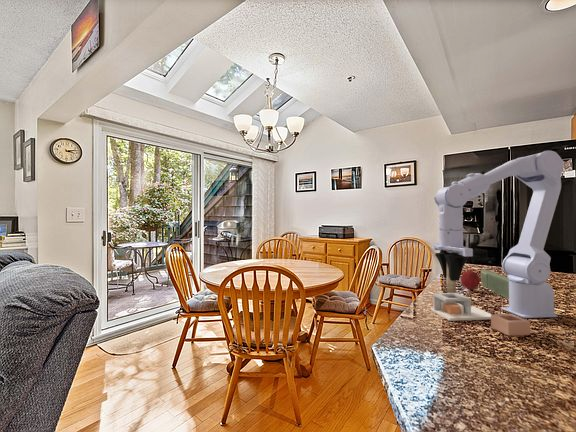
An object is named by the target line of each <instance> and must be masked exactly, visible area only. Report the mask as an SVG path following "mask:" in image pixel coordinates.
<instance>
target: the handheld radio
mask: <svg viewBox="0 0 576 432" xmlns="http://www.w3.org/2000/svg"><path fill="white" fill-rule="evenodd" d="M480 282H481V286H484V287H486V288H488V289H490V290H491V292H492V291H493V293H494V292H495V293H494V294H496V293H497V294H496V295H498V294H499V295H498V296H500V295H501V296H500V297H502V296H503V297H502V298H504V297H505V298H504V299H506V298H507V299H506V300H508V299H509V278H507V276H505V275H502V274H500V273H497V272H494V271H492V270H489V269H481V270H480ZM484 287H483V288H484ZM486 288H485V289H486ZM488 289H487V290H488ZM490 290H489V291H490Z"/></svg>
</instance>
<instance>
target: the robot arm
mask: <svg viewBox="0 0 576 432" xmlns="http://www.w3.org/2000/svg"><path fill="white" fill-rule="evenodd" d="M564 166H565V162H564V161H563V159H562V157H561V156H560V155H559V154H558V152H556V151H553V150H544V151H542V152H539V153H535V154H531V155H527V156H521V157H517V158H515V159H512V160H509V161H507V162H505V163H503V164H502V165H499V166H497V167H495V168H492V169H491V170H489V171H487V172H485V173H484V174H483V173H480V172H479V173H478V172H477V173H476V172H475V173H474V172H470V173H468V174H466V177H465V178H463V179H460V180H458V181H457V180H456V181H453V182H451V183H450V184H451V185H450V186H445V187H441V188H440V189H438V191H436V194H435V196H434V197H433V199H434V203H435V204H436V206H437V207H438V225H439V226H438V229H439V230H438V231H439V234H438V235H439V242H438V243H432V250H433V251H439V252H435V253H434V255H435V257H436V259H437V260H438V262H439V264H440V268H441V271H442V275H443V278H444V279H446V280H447V267H446V261H447V264H448V269H449V277H450V280H451V281H456V282H459V281H460V280H461V276H462V275H461V274H462V272H463V268H464V266H465V263H466V262H467V261H468V260H469V257H474V249H473V248H470V247H466V246H464V225H463V224H464V221H463V220H464V218H463V217H464V216H463V213H464V211H463V209H464V208H463V207H464V205H466V203H467V202H468V201H469V200H471V199H475V197H478V196H480V195H482V194H484V193H486V192H488V190H489V188H490V186H491V185H492V184H495V183H497V182H500V181H502V180H504V179H507V178H508V177H514V176H515V177H516V178H517V179H518V180H519V181H521V182H522V183H523V184H525V185H526V187H527V186H528V187H529V188H530V189H532V196H531V198H530V201H529V206H528V209H527V213H526V216H525V219H524V222H523V227H522V230H521V233H520V236H519V239H518V243H517V244H516V245H515V246H512V247H511V248H510V249H509V251H508V253H507V255H506V256H505V258H504V259H503V261H502V263H501V269H502V271H503V272H504V273H505V275H506V277H507V278H509V300H508V306H503V307H502V306H501V307H500V308H501V309H500V310H503V311H506V312H508V313H509V314H513V315H515V316H518V317H520V318H523V319H533V318H534V319H537V318H538V319H539V318H557V317H558V315H557V314H555V292H554V289H553V287H552V286H551V284H550V283H548V282H546V281H547V280H548V279H549V278H550V275H551V266H550V263H551V259H552V258H551V256H550V255H549V254H548V253H547V252H546V250H544V248H545V245H546V241H547V238H548V234H549V231H550V227H551V224H552V220H553V218H554V213H555V211H556V207H557V204H558V202H559V201H558V200H559V196H560V194H561V190H562V180H561V179H562V178H561V177H562V173H563V169H564Z"/></svg>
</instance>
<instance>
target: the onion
mask: <svg viewBox="0 0 576 432" xmlns="http://www.w3.org/2000/svg"><path fill="white" fill-rule="evenodd" d="M461 274H462V273H461ZM460 281H461V284H462V285H463V287H464V288H466V289H467V290H468V291H473V290H474V289H476V288H477V287H479V285H480V282H481V278H480V277H479V275H478V274H477V273H476V272H475V271H473V270H472V268H470V267H469V268H468V269H467V271H464V272H463V274H462V275H460Z"/></svg>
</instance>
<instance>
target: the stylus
mask: <svg viewBox="0 0 576 432" xmlns="http://www.w3.org/2000/svg"><path fill="white" fill-rule="evenodd" d="M446 267H447V279H446V292H447V293H457V281H451V280H450V277H449V269H448V264H447V261H446Z"/></svg>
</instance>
